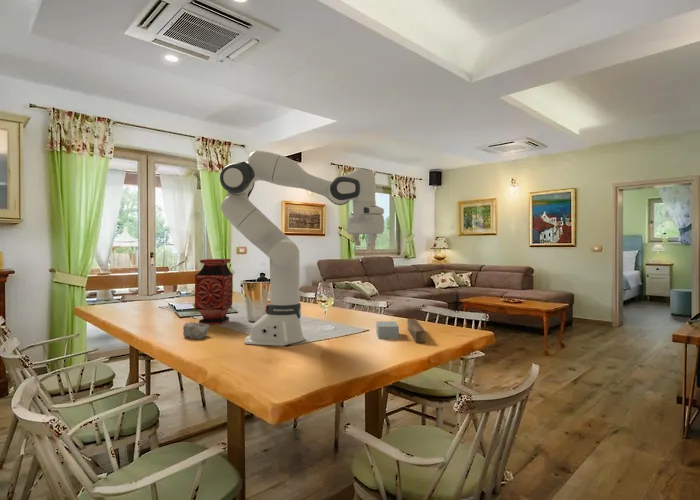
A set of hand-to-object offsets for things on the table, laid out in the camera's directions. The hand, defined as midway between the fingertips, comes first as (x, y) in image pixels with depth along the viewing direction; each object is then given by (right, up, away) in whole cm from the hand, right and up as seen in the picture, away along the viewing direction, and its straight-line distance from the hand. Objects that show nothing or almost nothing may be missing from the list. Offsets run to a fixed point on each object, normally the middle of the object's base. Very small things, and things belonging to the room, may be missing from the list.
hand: (364, 246), depth 157 cm
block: (+9, -36, +5) cm, 38 cm away
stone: (-68, -37, +5) cm, 77 cm away
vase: (-70, -36, +35) cm, 86 cm away
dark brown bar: (+21, -36, +5) cm, 42 cm away
